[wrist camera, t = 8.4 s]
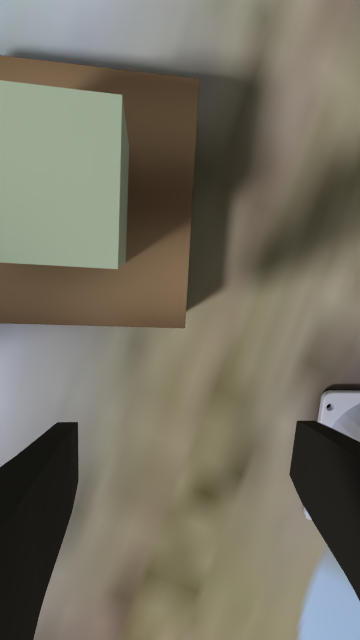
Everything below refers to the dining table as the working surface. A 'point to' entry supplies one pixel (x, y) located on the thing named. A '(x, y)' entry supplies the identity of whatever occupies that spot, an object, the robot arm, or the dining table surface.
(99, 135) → the cube
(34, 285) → the base block
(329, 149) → the dining table surface
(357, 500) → the robot arm
